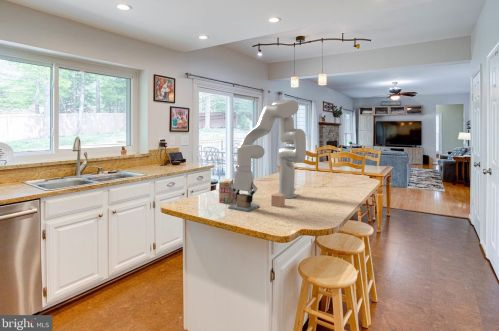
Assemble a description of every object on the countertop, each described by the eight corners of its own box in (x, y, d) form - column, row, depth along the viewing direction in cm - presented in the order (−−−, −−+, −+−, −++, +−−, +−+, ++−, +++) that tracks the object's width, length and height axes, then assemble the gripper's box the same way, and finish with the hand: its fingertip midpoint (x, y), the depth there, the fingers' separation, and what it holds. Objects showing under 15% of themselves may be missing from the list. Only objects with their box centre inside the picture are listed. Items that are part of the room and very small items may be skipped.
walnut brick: (242, 204, 171) (242, 193, 170) (250, 205, 168) (251, 194, 167) (236, 206, 166) (236, 195, 166) (245, 207, 164) (245, 196, 163)
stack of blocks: (226, 195, 199) (225, 176, 198) (235, 195, 199) (235, 176, 197) (219, 202, 178) (219, 181, 177) (229, 203, 178) (229, 182, 176)
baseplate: (240, 203, 176) (240, 202, 176) (259, 206, 169) (259, 205, 169) (228, 208, 165) (228, 206, 165) (247, 211, 159) (247, 209, 159)
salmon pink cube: (275, 203, 177) (276, 193, 176) (284, 205, 174) (284, 194, 174) (271, 205, 172) (271, 195, 172) (280, 207, 170) (280, 196, 169)
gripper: (226, 168, 166) (226, 200, 168) (254, 170, 157) (254, 205, 159) (234, 167, 173) (234, 198, 175) (261, 169, 164) (261, 202, 166)
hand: (243, 201), depth 167 cm, fingers open, 7 cm apart
